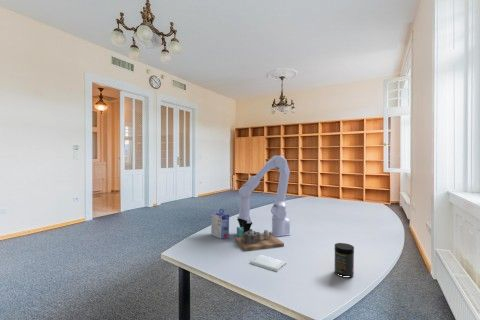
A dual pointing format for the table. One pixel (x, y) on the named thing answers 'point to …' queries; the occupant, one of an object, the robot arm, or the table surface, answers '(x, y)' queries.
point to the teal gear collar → (241, 231)
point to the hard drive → (268, 262)
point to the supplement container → (344, 259)
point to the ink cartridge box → (220, 225)
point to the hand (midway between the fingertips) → (244, 233)
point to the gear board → (258, 241)
